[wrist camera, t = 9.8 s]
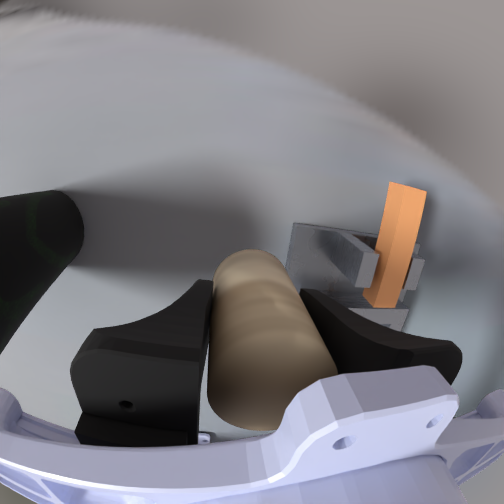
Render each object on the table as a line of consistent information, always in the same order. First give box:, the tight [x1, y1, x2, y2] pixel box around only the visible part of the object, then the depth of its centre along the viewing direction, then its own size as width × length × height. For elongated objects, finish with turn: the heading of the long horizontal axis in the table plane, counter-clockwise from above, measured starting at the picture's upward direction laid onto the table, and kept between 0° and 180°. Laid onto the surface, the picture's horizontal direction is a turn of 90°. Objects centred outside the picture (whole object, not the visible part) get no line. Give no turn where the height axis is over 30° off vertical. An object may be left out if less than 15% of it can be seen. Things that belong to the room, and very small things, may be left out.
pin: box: [362, 182, 427, 308], centre depth 15 cm, size 7×2×2 cm, turn 172°
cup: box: [0, 190, 84, 354], centre depth 12 cm, size 8×8×12 cm
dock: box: [285, 223, 425, 332], centre depth 20 cm, size 16×10×5 cm, turn 172°
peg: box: [207, 249, 338, 431], centre depth 10 cm, size 4×4×7 cm
